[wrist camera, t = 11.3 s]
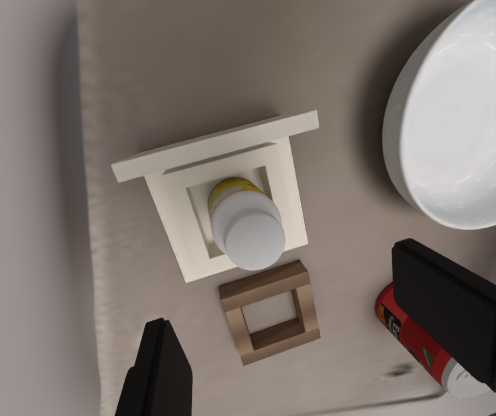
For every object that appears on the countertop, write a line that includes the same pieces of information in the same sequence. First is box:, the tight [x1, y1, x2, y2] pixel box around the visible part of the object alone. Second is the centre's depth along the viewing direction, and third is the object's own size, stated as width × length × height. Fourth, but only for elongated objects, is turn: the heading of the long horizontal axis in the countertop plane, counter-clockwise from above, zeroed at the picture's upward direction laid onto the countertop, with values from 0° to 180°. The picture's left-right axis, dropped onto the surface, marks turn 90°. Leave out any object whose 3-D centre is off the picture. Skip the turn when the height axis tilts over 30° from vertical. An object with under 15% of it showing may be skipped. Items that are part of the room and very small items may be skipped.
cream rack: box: [111, 110, 319, 283], centre depth 23 cm, size 14×14×8 cm
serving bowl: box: [382, 0, 496, 230], centre depth 25 cm, size 21×21×7 cm
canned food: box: [376, 284, 490, 399], centre depth 30 cm, size 8×8×11 cm
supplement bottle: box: [208, 177, 286, 270], centre depth 21 cm, size 5×5×10 cm
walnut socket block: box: [219, 260, 321, 366], centre depth 30 cm, size 10×10×2 cm
